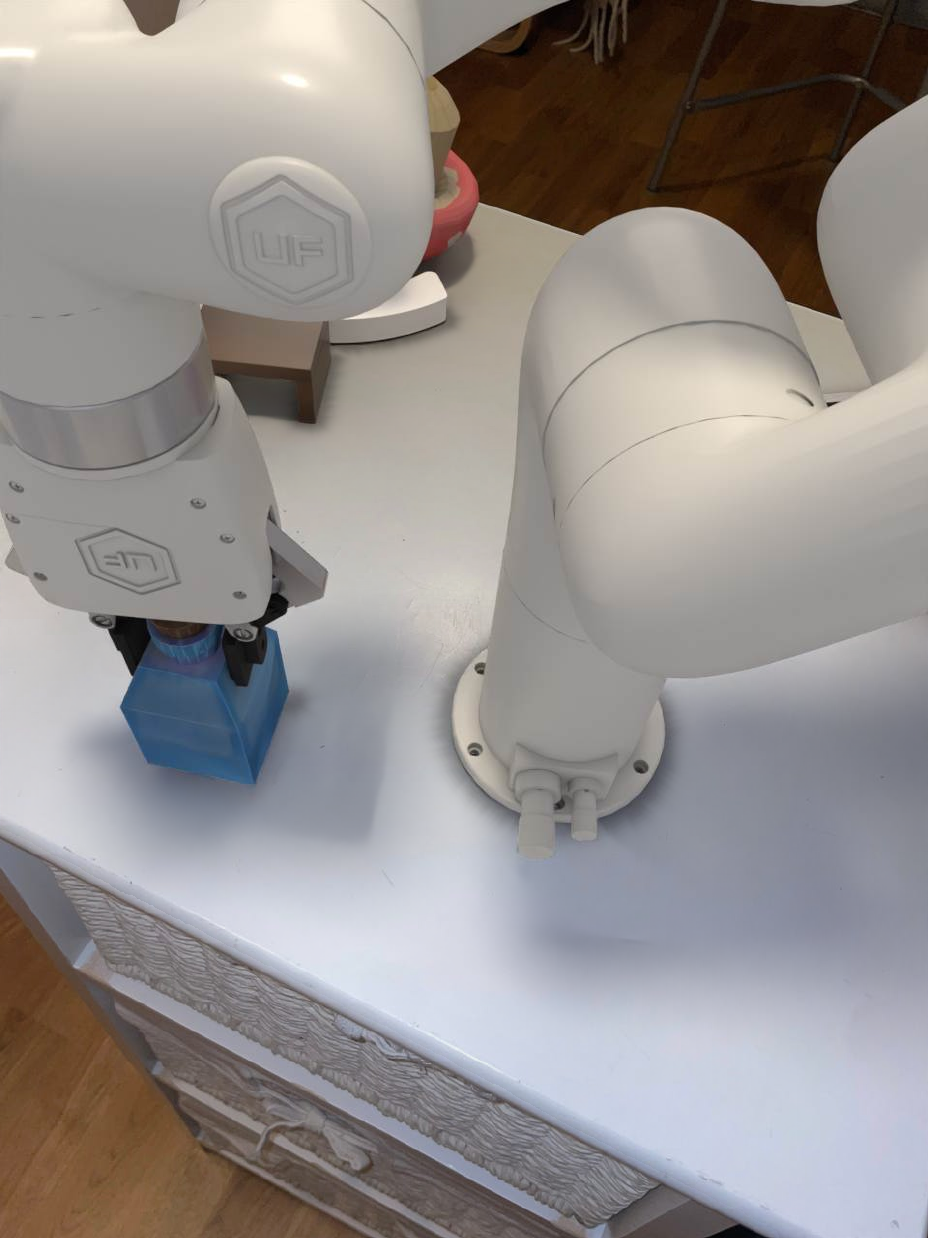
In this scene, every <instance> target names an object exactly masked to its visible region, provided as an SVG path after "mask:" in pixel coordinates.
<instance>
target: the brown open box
mask: <svg viewBox="0 0 928 1238" xmlns="http://www.w3.org/2000/svg"><path fill="white" fill-rule="evenodd" d="M200 309H201V314H202V319H203V324H204V328H205V333H206V338H207V342H208V347H209V352H210V357H211V361H212V366H213V371H214V376H218V377H221V378H223V376H224V375H232V376H242V377H250V378H251V377H252V378H260V379H270V380H279V381H289V382H294V383H295V391H296V392H295V393H296V402H297V412H298V413H297V414H298V420H299V423H308V424H309V423H310V424H316V423H317V418H318V414H319V411H320V405H321V401H322V397H323V393H324V389H325V386H326V381H327V378H328V374H329V369H330V365H331V362H332V355H331V353H332V352H331V343H330V336H329V321H321V322H299V321H286V320H277V319H271V318H265V317H259V316H253V315H248V314H243V313H239V312H234V311H229V310H225V309H220V308H216V307H212V306H208V305H203V304H202V306H201V307H200Z"/></svg>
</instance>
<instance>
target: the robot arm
mask: <svg viewBox="0 0 928 1238" xmlns="http://www.w3.org/2000/svg"><path fill="white" fill-rule="evenodd" d="M568 1H569V0H179V2H178V7H177V11H176V15H175V20H174V22H173V24H171V25H169V26H168V27H165V29H163V30H162V31H160V32H158V33H157V34H154V35H149V34H145V33H143V32H142V31H141V30H140V29H139V27H138V25H137V24H138V23H137V22H136V20H135V18H134V17H133V15H132V12H131V11H130V9H129V7H128V6H127V4H126V3H125V1H124V0H0V512H1V517H2V520H3V522H4V525H5V528H6V530H7V533H8V536H9V539H10V540H11V543H12V544H11V547H10V549H9V551H8V553H7V555H6V557H5V560H4V565H5V566H6V567H7V568H8V569H9V570H11V571H14V572H16V573H18V574H21V575H22V576H25V577H27V578H28V580H29V582H30V583H31V585H32V587H33V588H34V590H35V591H36V592H37V593H38V595H39V596H40V597H41V598H42V599H44V601H46V602H48V603H50V604H52V605H54V606H57V607H60V608H63V609H68V610H71V611H77V612H84V613H88V619H89V622H90V623H91V624H92V625H93V626H96V627H98V628H100V629H105V630H107V631H108V634H109V636H110V638H111V640H112V643H113V644H114V647H115V649H116V651H117V652H119V653H121V656H122V659H123V661H124V663H125V666H126V668H127V670H128V673H129V674H130V676H131V677H133V676H134V673H135V671H136V669H137V667H138V665H139V663H140V662H141V659H142V656H143V654H144V652H145V650H146V648H147V646H148V644H149V642H150V640H151V636H150V633H149V631H148V628H147V618H149V619H160V620H171V621H183V622H195V623H208V624H224V626H225V631H224V634H223V638H222V649H223V652H224V655H225V659H226V662H227V666H228V669H229V673H230V676H231V679H232V680H233V681H234V682H235V684H236V686H241V687H247V686H248V684H249V680H250V676H251V672H252V668H253V664H260V665H262V664H263V662H264V659H265V655H266V651H267V633H266V629H265V626H267V625H269V624H271V623H273V622H275V621H277V620H278V619H280V618H281V617H284V616H286V614H287V613H288V609H289V608H292V607H294V608H296V609H297V608H299V607H303V606H304V605H308V604H310V603H313V602H316V601H319V600H322V598H324V596H325V593H326V588H327V582H328V579H329V571H328V569H327V568H326V567H325V566H324V565H322V563H320V562H319V561H318V560H316V558H314V557H313V556H312V555H311V554H310V553H309V552H307V551H306V550H305V549H304V548H303V547H302V546H300V545H299V544H298V543H297V542H296V541H295V540H294V539H292V538H291V537H290V536H289V535H288V534H287V533H285V532H284V531H283V528H282V522H281V521H282V520H281V517H280V510H279V507H278V502H277V499H276V495H275V491H274V487H273V484H272V479H271V477H270V473H269V470H268V467H267V464H266V460H265V458H264V455H263V452H262V449H261V445H260V444H259V440H258V438H257V436H256V433H255V430H254V429H253V425H252V424H251V421H250V420H249V417H248V415H247V413H246V411H245V408H244V406H243V405H242V401H240V399H239V397H238V395H237V393H236V392H235V389H234V388H233V386H232V384H231V382H230V381H229V380H227V379H226V378H223V377H222V378H221V377H218V376H214V371H213V366H212V361H211V357H210V352H209V347H208V342H207V338H206V333H205V328H204V324H203V319H202V314H201V305H202V306H203V305H208V306H212V307H216V308H220V309H225V310H229V311H234V312H239V313H243V314H248V315H253V316H259V317H265V318H271V319H277V320H286V321H299V322H321V321H333V320H342V319H346V318H350V317H354V316H357V315H361V314H363V313H365V312H368V311H370V310H372V309H374V308H376V307H379V306H380V305H382V304H383V303H384V302H386V301H387V300H389V299H390V298H392V297H393V296H394V295H396V294H397V293H398V292H399V291H400V290H401V289H402V288H403V286H404V285H405V284H406V283H407V282H408V281H409V280H410V279H411V278H413V275H414V274H415V272H416V271H417V270H418V268H419V266H420V265H421V263H422V262H421V260H422V258H423V256H424V253H425V251H426V248H427V245H428V242H429V239H430V234H431V230H432V226H433V216H434V199H435V181H434V167H433V156H432V146H431V136H430V125H429V106H428V94H427V83H426V79H428V78H429V77H431V76H434V75H435V74H437V73H438V72H440V71H442V70H443V69H444V68H446V67H447V66H449V65H451V64H452V63H454V62H456V61H457V60H458V59H460V58H462V57H463V56H465V55H467V54H468V53H470V52H471V51H473V50H474V49H476V48H478V47H479V46H481V45H482V44H484V43H486V42H487V41H489V40H491V39H493V38H494V37H496V36H497V35H499V34H501V33H502V32H505V31H506V30H508V29H509V28H511V27H513V26H515V25H517V24H519V23H520V22H522V21H524V20H525V19H528V18H530V17H532V16H535V15H537V14H539V13H540V12H544V11H546V10H547V9H550V8H552V7H554V6H557V5H560V4H562V3H566V2H568ZM752 1H754V2H761V3H763V2H764V3H770V4H778V5H792V6H799V7H801V6H806V7H807V6H808V7H810V6H811V7H830V6H838V5H846V4H852V3H855V2H857V1H859V0H752ZM816 239H817V240H816V241H817V251H818V254H819V259H820V262H821V266H822V271H823V275H824V278H825V281H826V284H827V286H828V289H829V292H830V295H831V297H832V299H833V302H834V304H835V306H836V308H837V311H838V314H839V315H840V318H841V321H842V322H843V324H844V327H845V330H846V331H847V333H848V335H849V338H850V340H851V342H852V345H853V346H854V347H853V348H854V349H855V351H856V353H857V356H858V358H859V359H860V362H861V364H862V366H863V369H864V371H865V373H866V375H867V377H868V379H869V381H870V385H871V386H870V387H868V388H865V389H863V390H861V391H862V392H860V393H858V394H856V395H854V396H852V397H849V398H847V399H845V400H843V401H841V402H839V403H837V404H835V405H832V406H830V407H828V406H827V404H826V401H825V399H824V396H823V394H824V393H823V391H822V388H821V383H820V379H819V375H818V373H817V370H816V368H815V365H814V363H813V361H812V359H811V356H810V353H809V352H808V350H807V348H806V344H805V343H804V341H803V340H804V339H803V338H802V336H801V333H800V330H799V328H798V326H797V323H796V321H795V318H794V316H793V314H792V311H791V309H790V306H789V304H788V303H787V300H786V298H785V296H784V294H783V292H782V290H781V288H780V285H779V284H778V282H777V280H776V279H775V277H774V276H773V273H772V272H771V270H770V269H769V267H768V266H767V265H766V263H765V262H764V260H763V259H762V257H761V256H760V255H759V253H758V252H757V251H756V250H755V249H754V248H753V247H752V245H750V244H749V243H748V241H746V239H745V238H744V237H742V236H741V235H740V234H739V233H738V232H736V231H735V230H734V229H733V228H731V227H730V226H728V225H727V224H725V223H723V222H721V221H720V220H718V219H716V218H714V217H712V216H709V215H707V214H705V213H703V212H699V211H695V210H691V209H689V208H683V207H671V206H656V207H653V206H652V207H644V208H639V209H634V210H630V211H627V212H625V213H621V214H619V215H616V216H613V217H611V218H609V219H607V220H605V221H604V222H602V223H600V224H598V225H596V226H595V227H593V228H591V230H589V231H588V232H586V233H584V234H583V235H582V236H581V237H580V238H579V239H578V240H576V241H575V242H574V243H573V244H571V245H570V247H569V248H568V249H567V250H566V251H565V253H563V254H562V256H561V257H560V258H559V259H558V261H556V263H555V264H554V266H553V267H552V269H551V270H550V272H548V274H547V276H546V278H545V280H544V282H543V283H542V285H541V287H540V289H539V291H538V293H537V296H536V297H535V300H534V302H533V304H532V307H531V311H530V314H529V317H528V319H527V325H526V329H525V333H524V337H523V344H522V349H521V350H522V351H521V357H520V370H519V382H518V383H519V384H518V402H517V420H516V421H517V425H516V443H515V444H516V446H515V459H514V472H513V481H512V489H511V490H512V491H511V499H510V507H509V515H508V519H507V527H506V534H505V541H504V546H503V550H502V556H501V563H500V568H499V569H500V570H499V576H498V577H499V578H498V583H497V587H496V594H495V602H494V608H493V615H492V621H491V627H490V633H489V640H488V645H487V646H488V647H487V648H485V649H484V650H483V651H481V652H480V653H479V654H478V655H477V656H476V657H474V659H472V661H471V662H469V664H468V665H467V667H466V668H465V670H464V672H463V674H462V675H461V677H460V679H459V681H458V683H457V687H456V689H455V693H454V695H453V700H452V707H451V733H452V738H453V742H454V747H455V749H456V752H457V754H458V756H459V758H460V762H461V763H462V765H463V767H464V768H465V770H466V772H467V773H468V774H469V776H470V777H471V778H472V779H473V782H474V783H476V784H477V785H478V786H479V787H480V788H481V789H482V790H483V791H484V792H485V793H486V795H488V796H489V797H490V798H492V799H494V800H495V801H496V802H498V803H500V804H501V805H503V806H504V807H505V808H507V809H509V810H512V811H514V812H516V813H518V814H520V817H519V819H518V835H517V854H519V856H521V857H523V858H526V859H530V860H546V859H547V860H548V859H549V858H552V857H553V856H554V855H555V850H556V849H555V848H556V847H555V844H556V823H561V824H562V823H564V824H565V823H566V824H570V825H571V826H570V836H571V838H572V839H574V840H577V841H580V842H591V841H594V840H595V839H597V838H598V819H600V818H603V817H605V816H609V815H612V814H614V813H615V812H617V811H619V810H621V809H622V808H624V807H626V806H627V805H629V804H630V803H631V802H632V801H633V800H634V799H635V798H637V797H638V796H639V795H640V794H642V792H643V790H644V789H645V788H646V786H647V785H648V784H649V783H650V781H651V779H652V778H653V776H654V775H655V772H656V770H657V768H658V766H659V764H660V761H661V758H662V755H663V751H664V748H665V740H666V739H665V738H666V725H665V724H666V723H665V718H664V717H665V716H664V711H663V707H662V705H661V703H660V700H659V698H660V697H659V696H660V695H661V692H662V691H663V688H664V686H665V683H666V681H667V679H698V678H709V677H710V678H711V677H718V676H723V675H729V674H734V673H739V672H743V671H749V670H752V669H756V668H760V667H763V666H767V665H771V664H774V663H777V662H780V661H783V660H787V659H790V658H793V657H797V656H800V655H803V654H807V653H810V652H812V651H816V650H820V649H822V648H825V647H828V646H829V647H830V646H832V645H834V644H837V643H841V642H844V641H846V640H851V639H852V638H856V637H858V636H862V635H865V634H867V633H871V632H875V631H876V630H877V631H878V630H880V629H883V628H886V627H889V626H892V625H895V624H898V623H901V622H904V621H908V620H911V619H914V618H916V617H920V616H922V615H926V614H928V94H926V95H925V96H923V97H921V98H920V99H918V100H916V101H915V102H912V103H911V104H910V105H908V106H906V107H905V108H903V109H901V110H900V111H898V112H897V113H895V114H894V115H891V116H890V117H888V118H887V119H885V120H884V121H882V122H881V123H880V124H878V125H876V126H875V127H874V128H872V129H871V130H870V131H869V132H868V133H867V134H865V135H864V136H863V137H862V138H860V140H858V141H857V142H856V143H855V144H854V145H853V146H852V147H851V148H850V150H849V151H848V152H847V153H846V154H845V155H844V157H843V158H842V159H841V161H840V162H839V163H838V164H837V165H836V167H835V169H834V170H833V172H832V174H831V175H830V176H829V178H828V180H827V182H826V184H825V187H824V190H823V192H822V196H821V199H820V201H819V206H818V210H817V218H816ZM472 754H475V755H472ZM638 771H639V772H638ZM555 806H556V807H557V808H558V809H556V808H555Z"/></svg>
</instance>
